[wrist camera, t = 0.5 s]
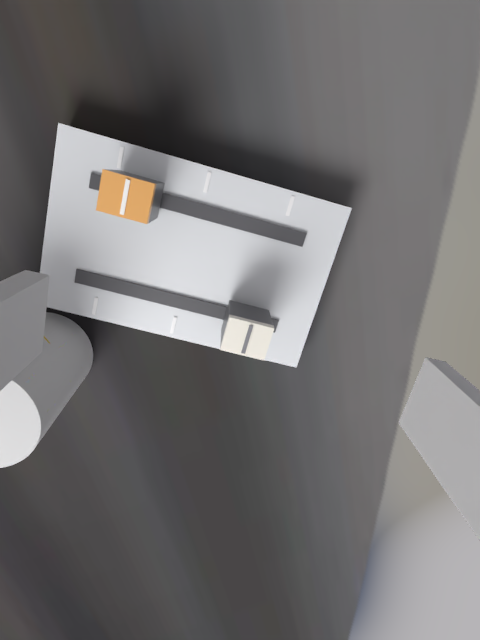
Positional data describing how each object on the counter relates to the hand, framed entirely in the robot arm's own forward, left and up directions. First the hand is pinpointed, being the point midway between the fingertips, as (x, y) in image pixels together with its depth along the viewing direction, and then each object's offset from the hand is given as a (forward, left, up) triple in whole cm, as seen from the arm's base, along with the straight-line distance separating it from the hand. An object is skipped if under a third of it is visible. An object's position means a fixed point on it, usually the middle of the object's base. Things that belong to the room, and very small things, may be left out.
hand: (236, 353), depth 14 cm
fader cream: (+6, +3, -22) cm, 23 cm away
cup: (+15, -14, -25) cm, 32 cm away
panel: (+2, -3, -25) cm, 25 cm away
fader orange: (-2, -8, -22) cm, 23 cm away
